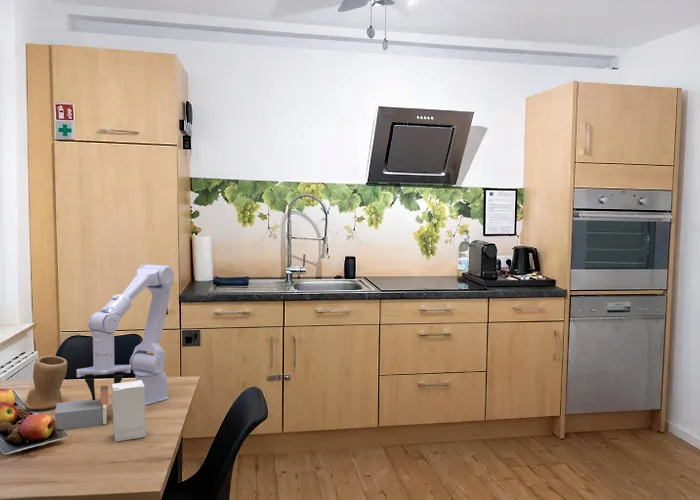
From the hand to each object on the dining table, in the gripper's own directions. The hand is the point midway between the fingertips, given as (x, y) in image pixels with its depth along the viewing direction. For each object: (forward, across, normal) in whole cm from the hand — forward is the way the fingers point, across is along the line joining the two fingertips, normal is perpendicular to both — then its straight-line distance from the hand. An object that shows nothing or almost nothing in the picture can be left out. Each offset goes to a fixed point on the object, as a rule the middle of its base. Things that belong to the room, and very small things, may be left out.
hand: (104, 398), depth 175 cm
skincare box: (+7, +6, -15) cm, 18 cm away
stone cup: (+7, -16, +20) cm, 27 cm away
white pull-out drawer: (+6, -5, 0) cm, 8 cm away
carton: (+6, -7, 0) cm, 9 cm away
